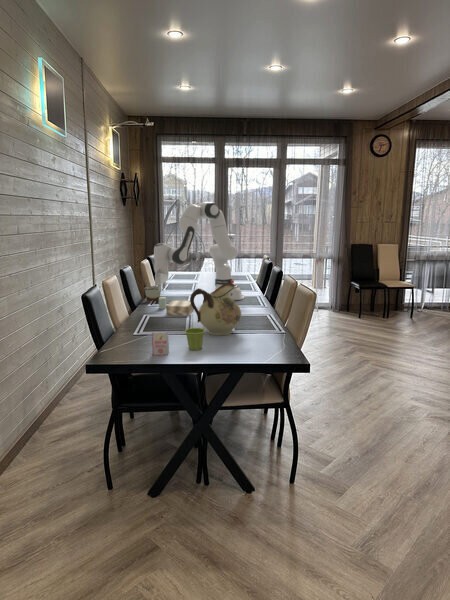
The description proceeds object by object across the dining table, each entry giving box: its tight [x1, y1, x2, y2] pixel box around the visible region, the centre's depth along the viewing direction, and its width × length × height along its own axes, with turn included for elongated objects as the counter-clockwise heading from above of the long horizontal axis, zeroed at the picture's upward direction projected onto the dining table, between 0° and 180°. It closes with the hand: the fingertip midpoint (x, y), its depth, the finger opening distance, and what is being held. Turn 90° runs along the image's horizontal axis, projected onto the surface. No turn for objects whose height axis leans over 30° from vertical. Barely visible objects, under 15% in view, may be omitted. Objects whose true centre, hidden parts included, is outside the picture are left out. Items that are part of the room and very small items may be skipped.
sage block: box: [158, 296, 168, 310], centre depth 275 cm, size 4×4×7 cm
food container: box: [143, 285, 162, 303], centre depth 298 cm, size 12×6×10 cm, turn 84°
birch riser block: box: [165, 300, 195, 316], centre depth 264 cm, size 14×16×6 cm
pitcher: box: [189, 283, 242, 336], centre depth 218 cm, size 22×24×25 cm
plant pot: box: [184, 327, 206, 351], centre depth 195 cm, size 9×9×9 cm
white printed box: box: [151, 332, 170, 357], centre depth 187 cm, size 4×7×10 cm, turn 90°
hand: (162, 289), depth 274 cm, fingers open, 8 cm apart
